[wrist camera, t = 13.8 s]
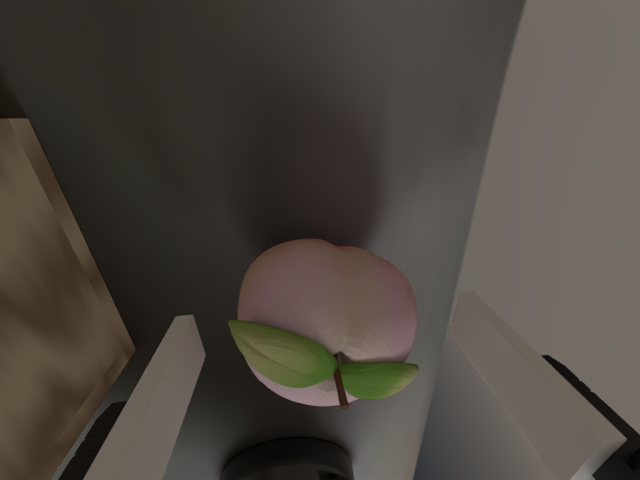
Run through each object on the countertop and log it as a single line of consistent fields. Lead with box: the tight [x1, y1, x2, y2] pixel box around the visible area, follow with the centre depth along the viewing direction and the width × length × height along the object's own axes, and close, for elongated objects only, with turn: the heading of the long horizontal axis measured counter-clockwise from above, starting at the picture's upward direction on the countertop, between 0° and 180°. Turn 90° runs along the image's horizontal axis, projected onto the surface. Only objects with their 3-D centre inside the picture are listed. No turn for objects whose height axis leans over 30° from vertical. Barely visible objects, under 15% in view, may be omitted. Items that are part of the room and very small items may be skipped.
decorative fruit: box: [228, 239, 419, 409], centre depth 14 cm, size 9×8×10 cm
